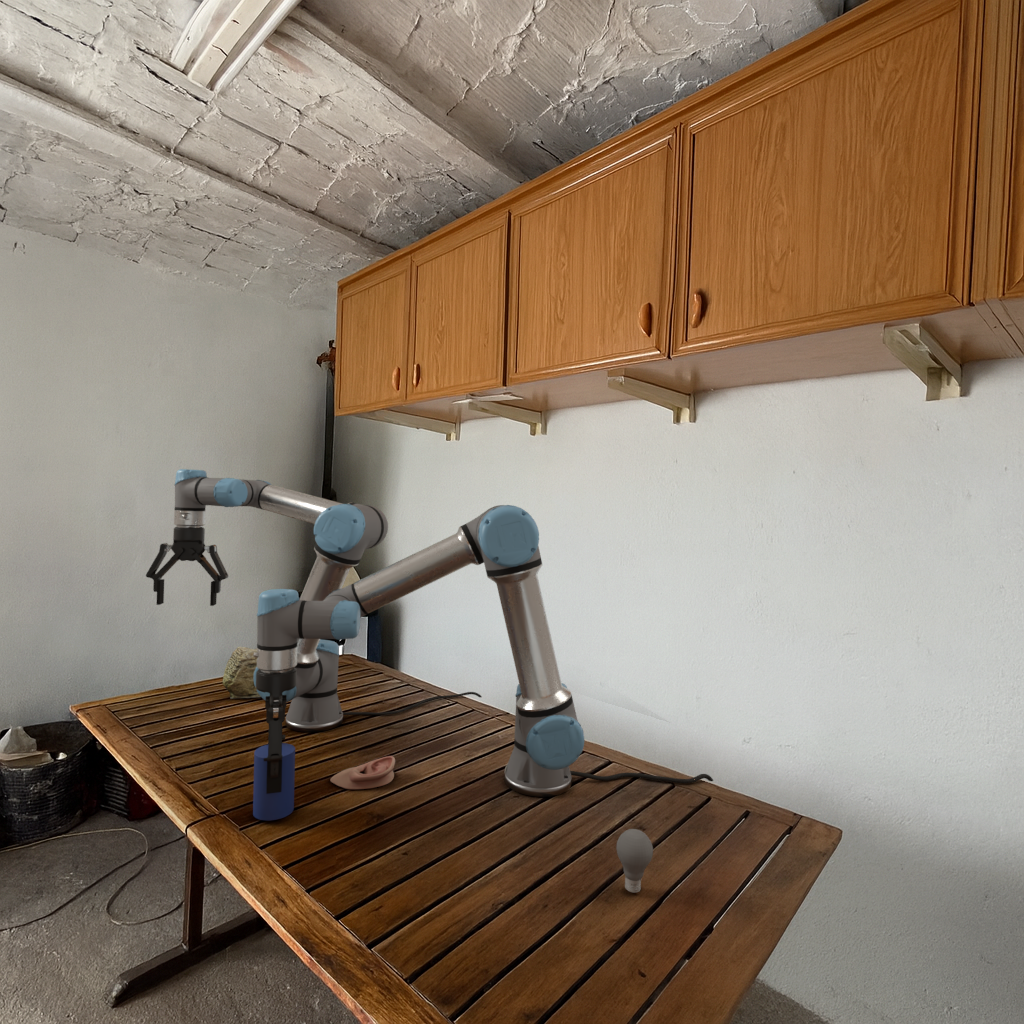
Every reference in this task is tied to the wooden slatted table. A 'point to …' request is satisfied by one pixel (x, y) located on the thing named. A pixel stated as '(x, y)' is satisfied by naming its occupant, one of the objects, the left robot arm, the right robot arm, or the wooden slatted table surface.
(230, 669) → the fossil
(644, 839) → the light bulb
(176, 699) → the wooden slatted table surface
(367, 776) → the anatomical model
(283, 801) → the canister
